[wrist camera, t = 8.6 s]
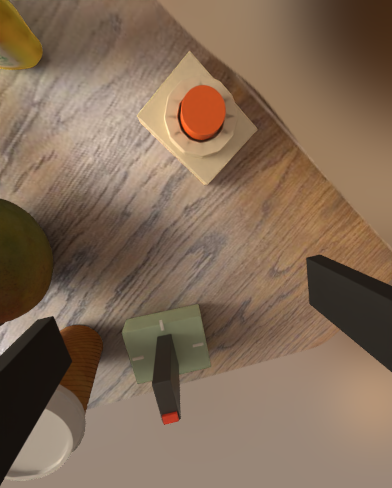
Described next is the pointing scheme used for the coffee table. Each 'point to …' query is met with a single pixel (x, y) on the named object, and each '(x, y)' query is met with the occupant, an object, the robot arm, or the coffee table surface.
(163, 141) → the switch base
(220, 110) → the switch button
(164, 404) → the dial knob
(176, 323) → the dial base
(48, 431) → the disposable coffee cup
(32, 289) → the fruit
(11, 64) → the bottle
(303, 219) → the coffee table surface
